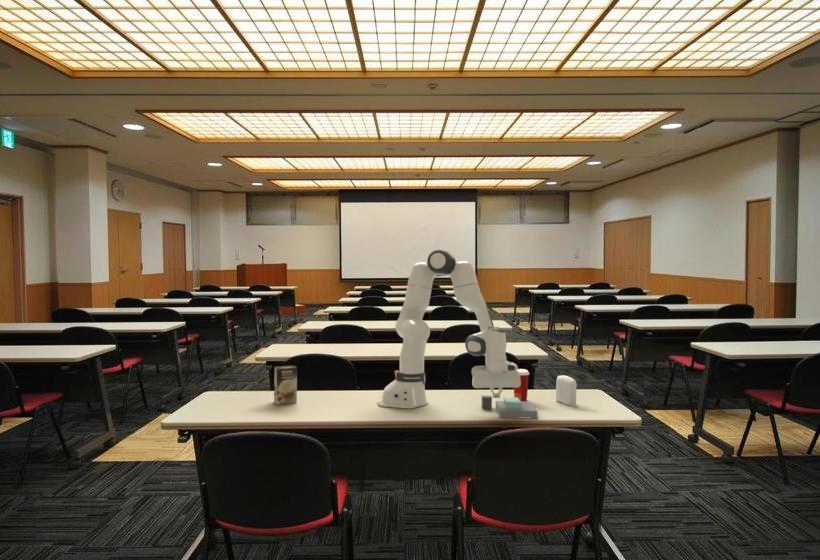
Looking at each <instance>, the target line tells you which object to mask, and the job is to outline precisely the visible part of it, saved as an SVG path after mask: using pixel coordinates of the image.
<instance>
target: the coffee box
mask: <svg viewBox="0 0 820 560" xmlns="http://www.w3.org/2000/svg"><path fill="white" fill-rule="evenodd" d="M273 370H274V375H273V376H274V377H273V378H274V379H273V381H274V382H273V383H274V386H273V387H274V391H273V402H274V403H275V404H276V406H277V405H278V406H279V405H287V404H288V405H289V404H297V402H298V401H297V399H298V398H297V397H298V396H297V395H298V394H297V393H298V389H297V388H298V367H297V366H296V365H281V366H280V365H278V366H274V369H273Z"/></svg>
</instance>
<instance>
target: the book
mask: <svg viewBox="0 0 820 560" xmlns="http://www.w3.org/2000/svg"><path fill="white" fill-rule="evenodd" d="M555 382H556V383H555V384H556V385H555V387H556V388H555V400H556V401H557V402H559V403H562V404H564V405H566V406H570V407H575V406H576V405H577V385H578V384H577V381H576V379H574V378H573V377H571V376H568V375H557V378H556V381H555Z"/></svg>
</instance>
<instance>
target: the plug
mask: <svg viewBox="0 0 820 560" xmlns="http://www.w3.org/2000/svg"><path fill="white" fill-rule="evenodd" d="M492 403H493V394H492V392H481V402H480V404H481V406H482V407H481V409H482V408H483V409H482V410H492V409H493V408H492V407H493V404H492ZM484 408H485V409H484Z"/></svg>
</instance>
